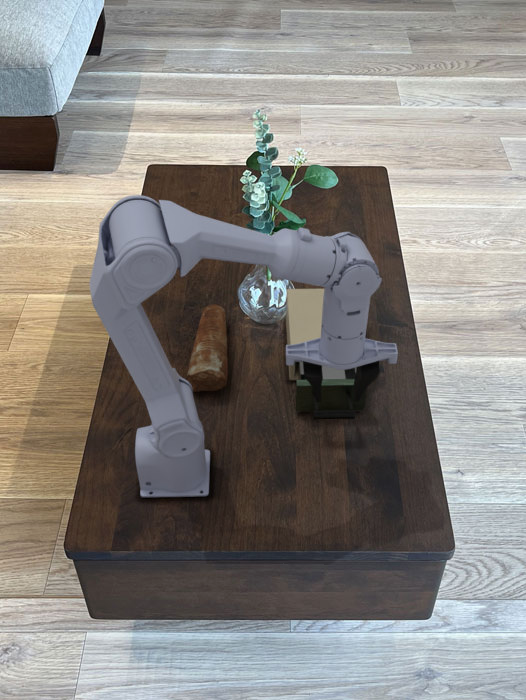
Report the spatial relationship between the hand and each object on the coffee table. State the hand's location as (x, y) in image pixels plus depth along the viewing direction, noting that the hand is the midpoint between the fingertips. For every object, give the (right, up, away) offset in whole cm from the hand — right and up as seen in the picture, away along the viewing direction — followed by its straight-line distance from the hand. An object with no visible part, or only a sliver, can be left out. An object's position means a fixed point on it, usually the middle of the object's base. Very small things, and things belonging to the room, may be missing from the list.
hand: (337, 396), depth 110 cm
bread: (-19, +5, +21) cm, 29 cm away
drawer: (0, 0, +13) cm, 13 cm away
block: (0, +4, +13) cm, 13 cm away
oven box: (0, +6, +22) cm, 23 cm away
